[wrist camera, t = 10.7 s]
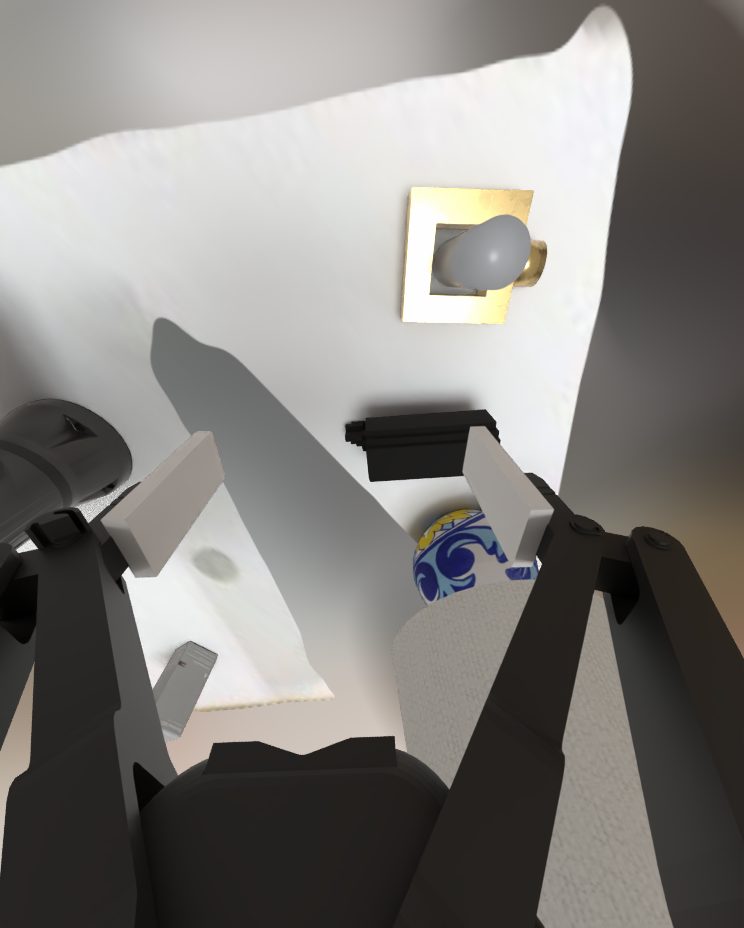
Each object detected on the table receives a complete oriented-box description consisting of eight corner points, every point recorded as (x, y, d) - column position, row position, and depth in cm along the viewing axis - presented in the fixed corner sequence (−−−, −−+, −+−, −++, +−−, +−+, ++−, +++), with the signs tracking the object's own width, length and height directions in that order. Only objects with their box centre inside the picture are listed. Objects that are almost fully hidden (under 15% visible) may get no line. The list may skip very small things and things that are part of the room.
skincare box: (219, 654, 75) (185, 737, 61) (201, 663, 77) (165, 745, 64) (189, 639, 72) (145, 723, 58) (171, 649, 74) (126, 732, 60)
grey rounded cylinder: (430, 286, 35) (461, 289, 23) (435, 238, 32) (472, 213, 20) (469, 287, 35) (521, 291, 23) (477, 239, 32) (538, 215, 20)
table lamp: (457, 445, 45) (726, 973, 11) (575, 524, 53) (944, 975, 19) (357, 552, 57) (332, 971, 22) (465, 604, 65) (569, 973, 30)
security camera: (344, 406, 42) (336, 439, 34) (480, 396, 41) (508, 427, 33) (349, 450, 46) (344, 490, 37) (475, 442, 45) (499, 481, 36)
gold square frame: (400, 317, 36) (403, 321, 33) (408, 196, 31) (412, 185, 27) (514, 320, 36) (529, 324, 33) (543, 199, 31) (564, 189, 27)
